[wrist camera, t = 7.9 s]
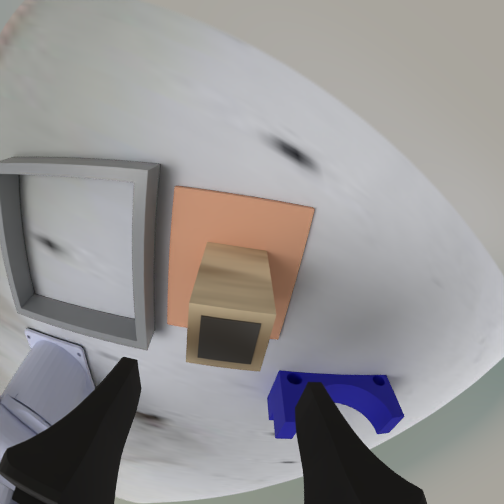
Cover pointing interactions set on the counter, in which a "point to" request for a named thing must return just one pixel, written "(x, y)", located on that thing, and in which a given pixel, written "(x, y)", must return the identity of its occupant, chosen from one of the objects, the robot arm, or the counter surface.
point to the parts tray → (143, 246)
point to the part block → (231, 308)
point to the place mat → (234, 242)
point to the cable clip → (334, 399)
